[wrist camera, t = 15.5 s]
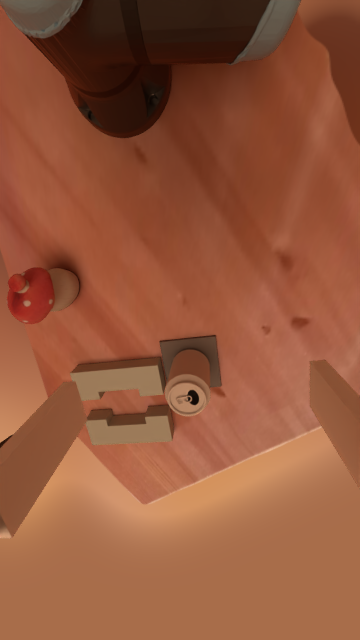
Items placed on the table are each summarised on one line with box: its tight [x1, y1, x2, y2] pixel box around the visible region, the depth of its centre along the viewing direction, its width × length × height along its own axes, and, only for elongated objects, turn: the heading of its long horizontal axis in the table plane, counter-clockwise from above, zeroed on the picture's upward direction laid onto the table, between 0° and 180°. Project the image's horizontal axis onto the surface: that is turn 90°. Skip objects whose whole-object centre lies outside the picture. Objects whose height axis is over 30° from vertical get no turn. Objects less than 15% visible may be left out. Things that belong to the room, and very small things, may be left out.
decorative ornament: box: [7, 268, 79, 324], centre depth 43 cm, size 9×7×15 cm
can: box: [165, 350, 210, 416], centre depth 46 cm, size 8×8×12 cm
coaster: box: [160, 335, 221, 387], centre depth 52 cm, size 11×11×1 cm
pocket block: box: [70, 357, 174, 445], centre depth 55 cm, size 18×18×4 cm
